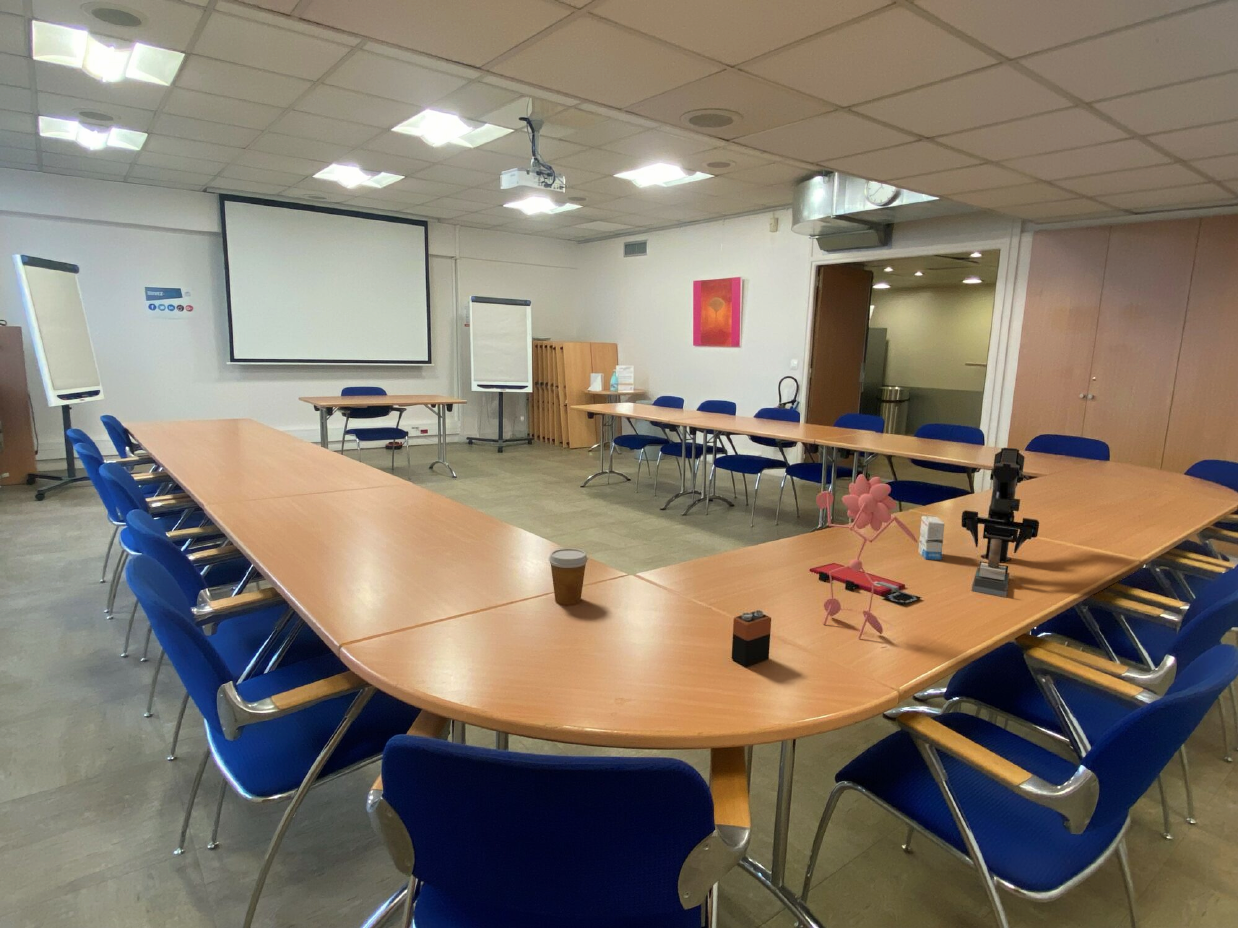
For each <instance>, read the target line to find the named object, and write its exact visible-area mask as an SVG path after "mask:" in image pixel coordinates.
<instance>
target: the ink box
mask: <svg viewBox="0 0 1238 928" xmlns="http://www.w3.org/2000/svg"><path fill="white" fill-rule="evenodd" d="M920 521H921V522H920V531H919V532H920V533H919V543H918V553H919V554H920V555H921V556H922V557H923V558H924V559H925V560H932V561H933V560H935V561H942V558H943V557H942V555H943V545H944V534H945V523H944V522H943V521H942V520H941V519H940V518H939V517H937V516H925V515H922V516H921V520H920Z"/></svg>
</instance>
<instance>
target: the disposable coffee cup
mask: <svg viewBox="0 0 1238 928" xmlns="http://www.w3.org/2000/svg"><path fill="white" fill-rule="evenodd" d="M588 558H589V557H588V555H587V552H585V551H584V550H582V549H578V548H570V547H569V548H560V549H559V548H558V549H554V550H552V551H551V552H550V555H549V557H548V561H549V563H550V567H551V568H550V569H551V577H552V584H553V585H552V586H553V593H554V600H555V603H556V604H558V605H563V606H573V605H577V604H579V603H580V602H581V600H582V593H583V587H584V586H583V585H584V580H585V574H586V573H585V571H586V564H587V562H588V560H589V559H588Z"/></svg>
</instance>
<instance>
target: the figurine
mask: <svg viewBox="0 0 1238 928" xmlns="http://www.w3.org/2000/svg"><path fill="white" fill-rule="evenodd" d="M848 490H849V494H846V495H843V496H842V497H841V500H842V503H843V505H844V506H845V507H847V508H848V510H847V512H846V513H847V517H848V518H849V519H852V520H854V521H853V523H852V525H844V524H843V525H842V524H834V523H832V522H831V521H832V519H831V505H833V502H834V499H835V498H834V494H833V493H832V492H831V491H830V490H826V491H822V492H820V493H818V494H817V496H816V499H815V503H816V505H817V508H819V510H823V509H826V508H827V524H828V527H833V528H834V527H835V528H843V529H849V530H850V531H851V532H852V531H853V532H854V533H856V535H858V536H859V537H861V539H863V542H862V544H861V547H860V549H859V552H858V554H857V557H856V558H854V559H851V560H850V562H849V565H844V566H845V567H842V568H839V569H836V570H832V571H830V572H829V575H830V579H829V583H830V594H831V597H829V598H826V600H825V601H824V602H823V607H824V610H825V612H826V614H825V617H824V620H823V623H822V624H823V625H826V624H827V621H828V618H829V616H830V617H833V616H835V615H837V614H838V613H840V611H841V610H844V611H850V612H855V613H860V614H863V617H864V620H863V622H862V625H861V628H860V631H859V634H858V637H857V638H858V639H861V638H862V635H863V632H864V630H865V628H866V627H865V626H867V625H866V624H867V623H868V624H869V625H870V627H872V628H873V629H874V630H875V631H876V632H877V633H878V634H880V635H882V634H883V632H884V631H883V626H882V624H881V622H880V621H883V622H884V623H887V624H889V625H890V626H892V624H891V623H890V622H888V621H886V620H884V619H882V618H879V617H877V616H876V615H874V614H873V613H872V612H871V608H872V603H873V595H874V593H873V591H874V583H873V581H872V580H871V579H870V577H869V576H868V575H867V573H868V572H866V571H865V570H864V568H863V562H862V561H861V560H860V556H861V554H862V553H863V550H864V547H865V546H866V543H867V541H868V542H870V543H873V542H874V541H875V540H877V538H878V537H879V536H880V535H881V534H882V533H883V532H884V531H885V530H886V529H887V528H888V527H889V526H890V525H891V524H893V522H894V521H895V523H896V524H897V525H898V527H899V528H900V529H901V530H902V531H903V532H904V533H905V534H906V535H907V536H908V537H909V538H910V539H911V540H912V541H914V543H916V544H917V543H918V540H917V538H916V536H915V535H914V533H913V532H912V531H911V530H910V529H909V528H908V527H907V525H905V524H904V523H903V522H902V521H901V520H900V518H898V517H897V516H895V515H894V516H892V513H891V512H890V511H892V510H894V509H897V503H896V501H895V500H894V499H893V497H891V496H889V494H891V491H892V488H891V486H890V485H889V484H887V483H882V479H881V477H880V476H874V477H872V478H871V479H870V480H867V478H866V476H865V475H864V474H863V473H861V474H859V475H858V476H857V478H856V480H855V483H854V482H851V483H849V486H848ZM883 523H884V524H885V525H884V526H883V527H882V525H883ZM869 525H870V527H871V529H872V530H873V531H876V532H877V533H876V534H874V535H873V536H872V538H870V537H869V536H867V535H865V534H864V533H862V532H861V531H859V530H863V529H865V528H866V527H868V526H869ZM855 527H856V528H857V529H856V528H855ZM847 567H850V568H851V569H852V570H854V571H863V572H864V573H865V575H866V576H867V577H868V579H869V580H870V581H871V583H872V584H873V586H872V592H870V593H871V595H870V598H869V599H870V600H869V606H868V610H867V609H864V610H862V612H861V611H857V610H853V609H852V608H851V609H850V608H849V609H848V608H841V607H842V605H841V603H840V600H838V599H837V598H835V597H834V589H833V581H832V580H833V579H832V577H831V572H834V571H838V570H841V569H844V568H847ZM878 619H879V620H880V621H879V620H878ZM884 648H886V646H882V647H881V649H884Z"/></svg>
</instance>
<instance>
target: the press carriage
mask: <svg viewBox="0 0 1238 928" xmlns="http://www.w3.org/2000/svg"><path fill="white" fill-rule="evenodd" d="M1001 544H1002V540H1000V539H991V544H990V552H989V559H988V564H987V563H981V566H980V565H979V566H980V572H979V576H982V577H988V578H994V579H999V580H1004V578H1005V571H1006V567H1005V566H999V564H1000V562H999V560H1000V552H1001Z"/></svg>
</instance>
